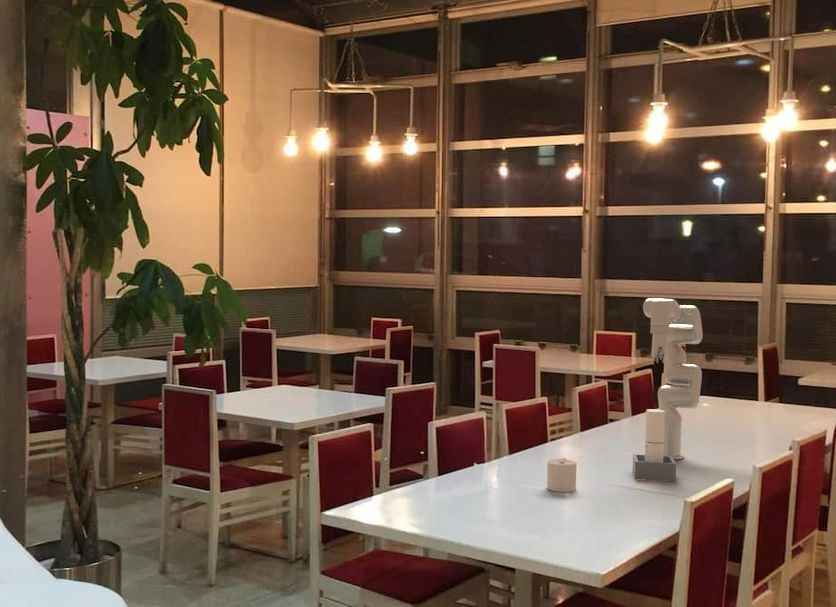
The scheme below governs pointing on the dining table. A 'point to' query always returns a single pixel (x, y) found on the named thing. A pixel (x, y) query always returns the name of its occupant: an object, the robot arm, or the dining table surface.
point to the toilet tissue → (561, 475)
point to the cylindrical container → (654, 435)
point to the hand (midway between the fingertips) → (658, 371)
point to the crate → (654, 468)
